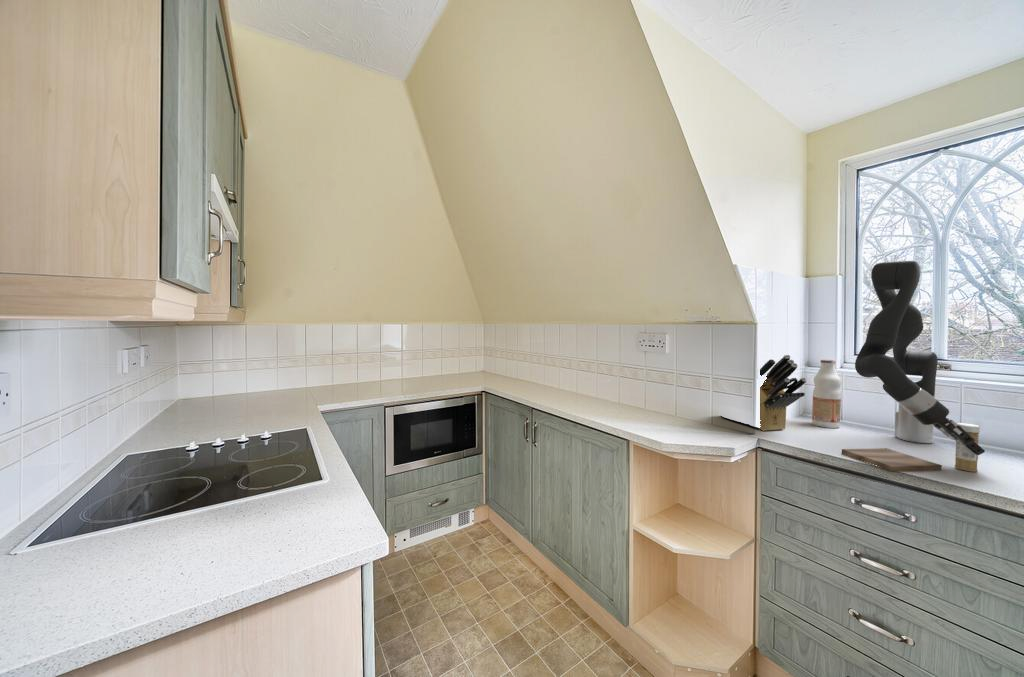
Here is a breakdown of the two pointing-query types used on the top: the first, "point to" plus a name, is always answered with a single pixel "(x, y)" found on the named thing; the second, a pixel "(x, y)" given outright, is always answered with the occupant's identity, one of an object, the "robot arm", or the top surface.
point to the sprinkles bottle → (963, 454)
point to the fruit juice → (827, 396)
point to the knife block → (778, 393)
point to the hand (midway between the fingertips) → (975, 450)
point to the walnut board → (891, 459)
